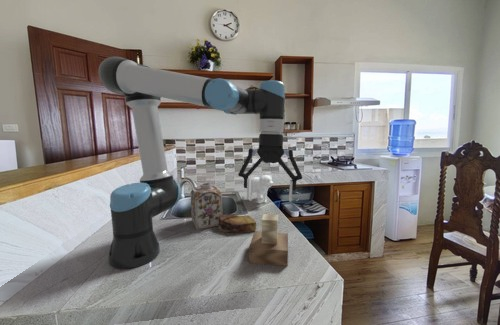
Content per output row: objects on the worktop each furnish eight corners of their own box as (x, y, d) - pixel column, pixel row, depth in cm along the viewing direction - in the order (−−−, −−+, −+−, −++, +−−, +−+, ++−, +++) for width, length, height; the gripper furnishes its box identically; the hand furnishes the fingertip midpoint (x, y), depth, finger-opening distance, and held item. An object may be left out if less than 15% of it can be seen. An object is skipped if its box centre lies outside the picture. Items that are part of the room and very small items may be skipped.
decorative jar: (216, 216, 112) (215, 180, 109) (223, 225, 101) (222, 185, 99) (190, 220, 107) (189, 182, 104) (195, 230, 96) (194, 188, 94)
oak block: (261, 243, 75) (261, 219, 74) (263, 236, 80) (263, 214, 79) (277, 244, 74) (277, 220, 73) (277, 237, 79) (278, 214, 78)
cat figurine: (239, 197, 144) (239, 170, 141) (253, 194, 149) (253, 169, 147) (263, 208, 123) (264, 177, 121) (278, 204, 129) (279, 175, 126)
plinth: (249, 262, 73) (249, 247, 72) (254, 244, 84) (254, 231, 84) (287, 265, 71) (287, 250, 70) (287, 246, 83) (287, 233, 82)
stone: (252, 223, 104) (252, 212, 103) (256, 232, 95) (256, 220, 94) (218, 226, 101) (218, 214, 100) (219, 235, 92) (219, 223, 91)
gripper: (229, 132, 70) (229, 199, 73) (313, 134, 66) (309, 205, 69) (234, 132, 78) (234, 193, 81) (311, 133, 74) (307, 198, 77)
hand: (269, 199), depth 75 cm, fingers open, 13 cm apart
